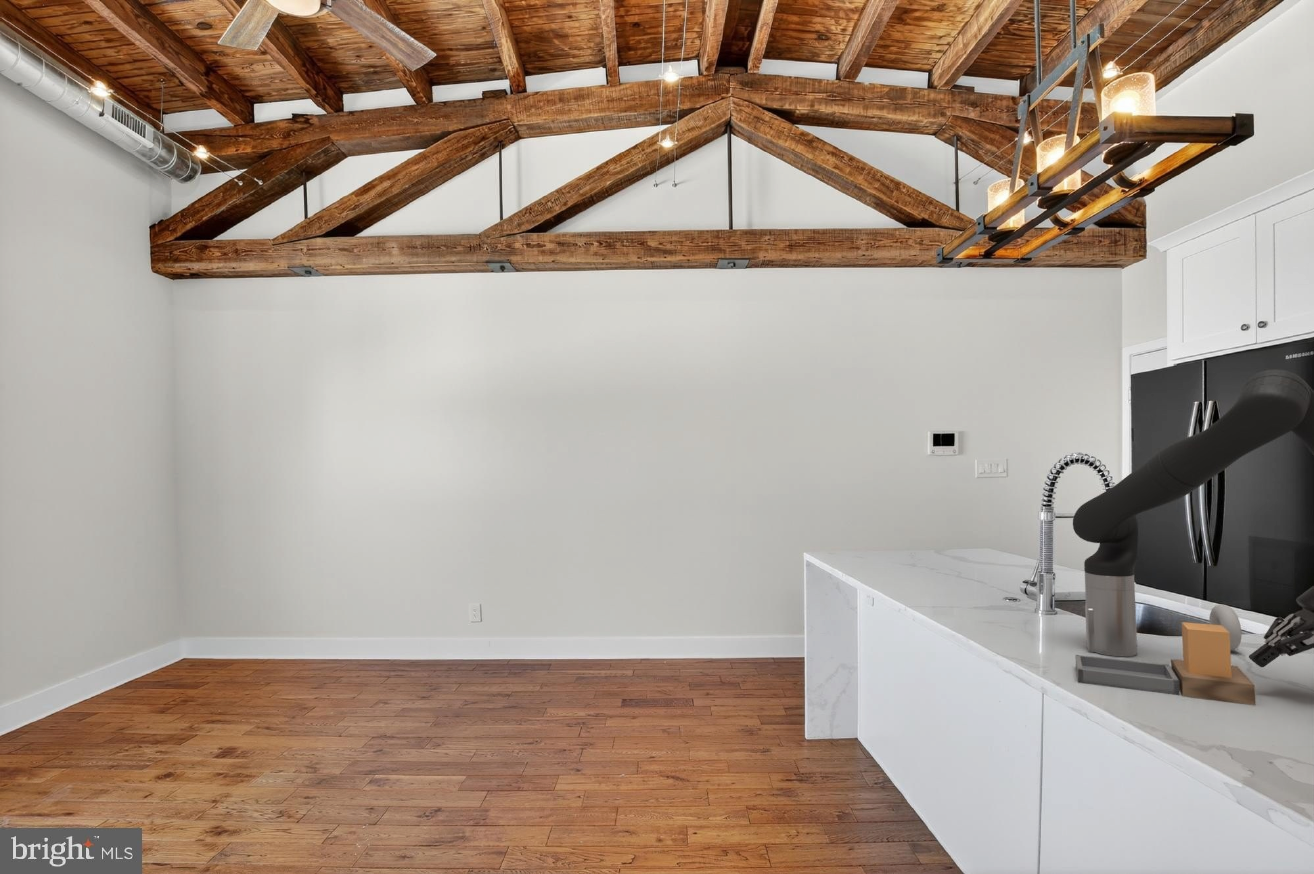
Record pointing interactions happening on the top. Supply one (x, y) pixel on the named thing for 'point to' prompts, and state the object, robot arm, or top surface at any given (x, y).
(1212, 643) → the orange block
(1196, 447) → the robot arm
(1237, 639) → the donut
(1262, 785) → the top surface
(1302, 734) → the top surface
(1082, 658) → the tray
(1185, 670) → the walnut board
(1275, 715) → the top surface
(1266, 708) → the top surface
